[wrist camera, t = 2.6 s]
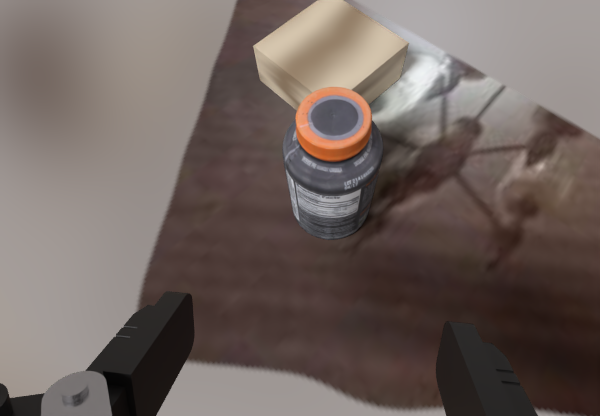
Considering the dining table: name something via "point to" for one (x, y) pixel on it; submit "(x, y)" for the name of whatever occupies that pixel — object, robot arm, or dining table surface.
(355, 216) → the pill bottle
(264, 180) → the dining table surface
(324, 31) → the maple block
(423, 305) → the dining table surface
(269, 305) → the dining table surface
